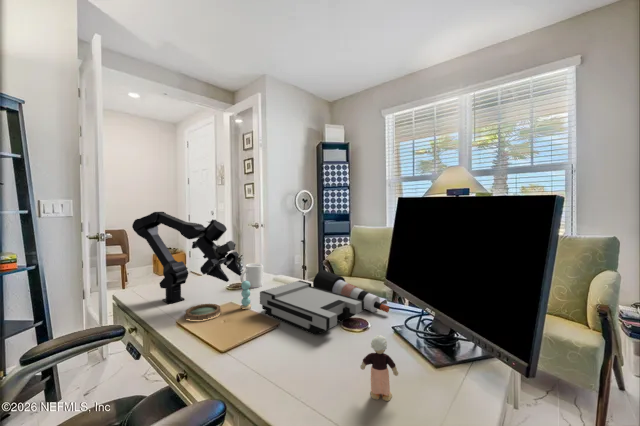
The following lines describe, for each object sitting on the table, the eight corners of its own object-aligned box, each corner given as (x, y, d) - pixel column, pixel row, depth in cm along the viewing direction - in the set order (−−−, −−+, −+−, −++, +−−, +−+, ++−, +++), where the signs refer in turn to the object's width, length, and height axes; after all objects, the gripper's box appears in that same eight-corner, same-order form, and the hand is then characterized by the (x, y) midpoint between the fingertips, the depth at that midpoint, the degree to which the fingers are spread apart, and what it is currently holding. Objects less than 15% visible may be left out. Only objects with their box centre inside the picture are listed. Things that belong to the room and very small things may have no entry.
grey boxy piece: (326, 342, 81) (326, 315, 80) (259, 313, 102) (259, 291, 101) (363, 320, 96) (364, 297, 96) (299, 299, 117) (299, 280, 117)
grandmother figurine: (394, 389, 60) (395, 332, 59) (399, 402, 56) (399, 341, 55) (359, 388, 60) (359, 331, 60) (361, 401, 56) (361, 340, 56)
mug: (245, 291, 127) (245, 269, 127) (235, 287, 133) (235, 266, 132) (266, 285, 136) (266, 264, 135) (256, 282, 141) (256, 262, 141)
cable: (382, 329, 98) (378, 309, 94) (316, 296, 122) (310, 279, 118) (396, 310, 104) (393, 290, 100) (330, 282, 128) (325, 265, 124)
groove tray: (179, 315, 99) (179, 310, 99) (210, 306, 108) (210, 301, 108) (194, 325, 91) (194, 319, 91) (227, 314, 100) (227, 308, 100)
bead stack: (238, 308, 106) (238, 280, 106) (247, 305, 109) (247, 278, 109) (244, 310, 104) (244, 282, 103) (253, 307, 106) (252, 280, 106)
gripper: (206, 237, 99) (234, 269, 96) (234, 232, 117) (258, 259, 115) (188, 258, 101) (215, 290, 99) (218, 250, 119) (241, 277, 117)
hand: (234, 277), depth 107 cm, fingers open, 9 cm apart
